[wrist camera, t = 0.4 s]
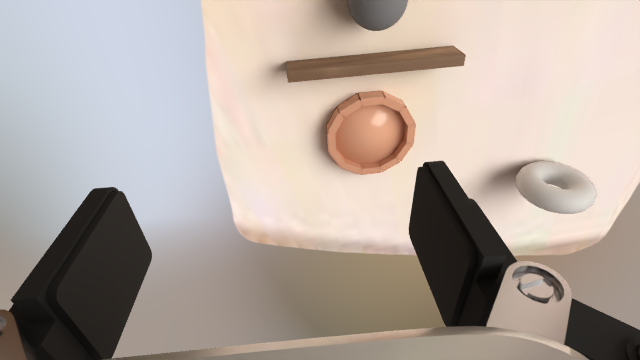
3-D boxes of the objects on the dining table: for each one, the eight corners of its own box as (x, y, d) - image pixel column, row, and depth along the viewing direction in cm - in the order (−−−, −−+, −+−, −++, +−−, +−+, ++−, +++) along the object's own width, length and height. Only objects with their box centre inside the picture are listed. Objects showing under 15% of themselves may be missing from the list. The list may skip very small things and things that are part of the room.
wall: (286, 61, 41) (286, 72, 38) (453, 45, 42) (465, 55, 39) (287, 71, 42) (288, 82, 39) (451, 55, 42) (463, 65, 40)
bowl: (324, 96, 44) (325, 102, 43) (414, 87, 45) (419, 93, 43) (329, 170, 51) (330, 177, 50) (407, 162, 52) (410, 169, 50)
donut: (499, 177, 55) (536, 221, 47) (506, 159, 53) (546, 202, 45) (561, 173, 55) (608, 216, 47) (570, 154, 53) (620, 196, 45)
